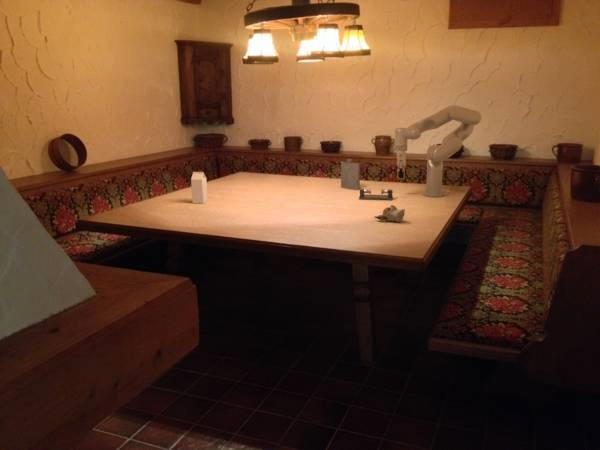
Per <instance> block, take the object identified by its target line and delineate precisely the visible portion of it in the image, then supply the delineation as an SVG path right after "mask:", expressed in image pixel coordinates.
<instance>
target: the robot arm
mask: <svg viewBox="0 0 600 450" xmlns="http://www.w3.org/2000/svg"><path fill="white" fill-rule="evenodd" d="M481 120H482V114H481V113H480V111H478V110H474V109H471V108H466V107H462V106H460V105H455V104H452V105H449V106H447V107H445V108H443V109H441V110H439V111H438V112H436V113H434V114H432V115H430V116H427V117H425V118H423V119H421V120H418V121H416V122H415V123H413V124H411V125H409V126H407V127H396V128H395V129H394V151H395V152H396V163H397V164H396V165H397V167H398V169H399V172H398V178H404V172H403V169H404V168H406V166H407V158H406V157H407V154H406V153H407V151H408V140H413V141H415V140H418V139H420V138H421V136H422V133H424V132H427V131H431V130H436V129H438V128H441V127H442V126H445V125H446V124H447V123H450V122H452V121H455V122H459V123H460V125H459V126H458V127H456V128H455V129H454V130H453V131H451V132H450V133H449V134H446V136H444V137H443V139H442V141H441V144H432V145H430V146H428V148H427V151H426V183H425V191H424V192H423V196H425V197H428V198H429V197H431V198H440V197H443V196H445V193H446V194H449V193H450V189H443V171H444V162H445V161H446V160H448V159H449V158H450V157H452V156H453V155H455V154H456V153H457V152H459V151H460V150H461V148H462V146H463V142H464V141H466V139H468V137H470V136H471V135H472V133H473V132H474V129H475V126H477V125H479V123H481Z"/></svg>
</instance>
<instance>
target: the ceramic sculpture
mask: <svg viewBox="0 0 600 450" xmlns="http://www.w3.org/2000/svg"><path fill="white" fill-rule="evenodd" d="M404 217H405V208H402V209H399V208H397V207H396V206H395V205H393V204H391V205H390V206H388V207H385V208H384V209H383V211H382V214H380V215H376V216H374V218H375V219H377V220H380V221H388V222H393V221H395V222H396V223H401V222H402V221H403V219H404Z"/></svg>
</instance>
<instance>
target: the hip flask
mask: <svg viewBox="0 0 600 450" xmlns="http://www.w3.org/2000/svg"><path fill="white" fill-rule="evenodd" d="M360 168H361V167H360V163H358V162H357V163H356V162H353V158H352V159H351V158H347V159H346V161H341V162H340V188H342V189H347V190H352V191H360V189H361V188H360V187H361V186H360V179H361V178H360V177H361V173H360V170H361V169H360Z"/></svg>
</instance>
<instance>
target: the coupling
mask: <svg viewBox="0 0 600 450" xmlns="http://www.w3.org/2000/svg"><path fill="white" fill-rule="evenodd" d="M396 171H397V172H396V173H397V174H396V176H397V177H396V178H397V180H405V177H406V176H405V173H406V172H405V171H406V170H405V168H403V172H404V178H398V172H399V168H397V170H396Z"/></svg>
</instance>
